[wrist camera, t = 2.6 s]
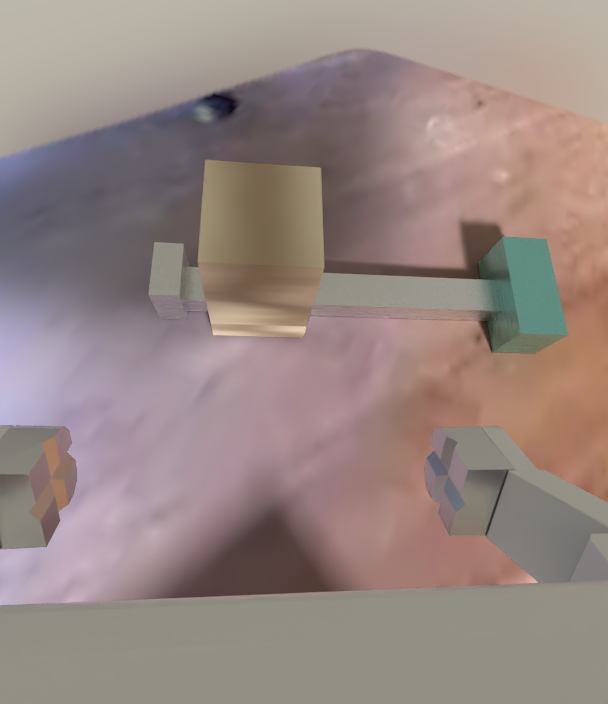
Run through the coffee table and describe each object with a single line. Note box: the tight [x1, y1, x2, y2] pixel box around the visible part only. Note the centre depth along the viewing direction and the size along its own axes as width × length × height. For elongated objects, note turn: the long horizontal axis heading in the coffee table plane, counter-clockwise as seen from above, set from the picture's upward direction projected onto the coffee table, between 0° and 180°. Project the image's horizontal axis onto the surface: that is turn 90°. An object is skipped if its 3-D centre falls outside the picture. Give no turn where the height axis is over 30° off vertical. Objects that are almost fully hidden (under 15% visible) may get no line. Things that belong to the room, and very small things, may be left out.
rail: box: [148, 237, 568, 353], centre depth 25 cm, size 22×6×3 cm, turn 91°
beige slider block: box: [198, 160, 324, 337], centre depth 22 cm, size 5×5×8 cm
